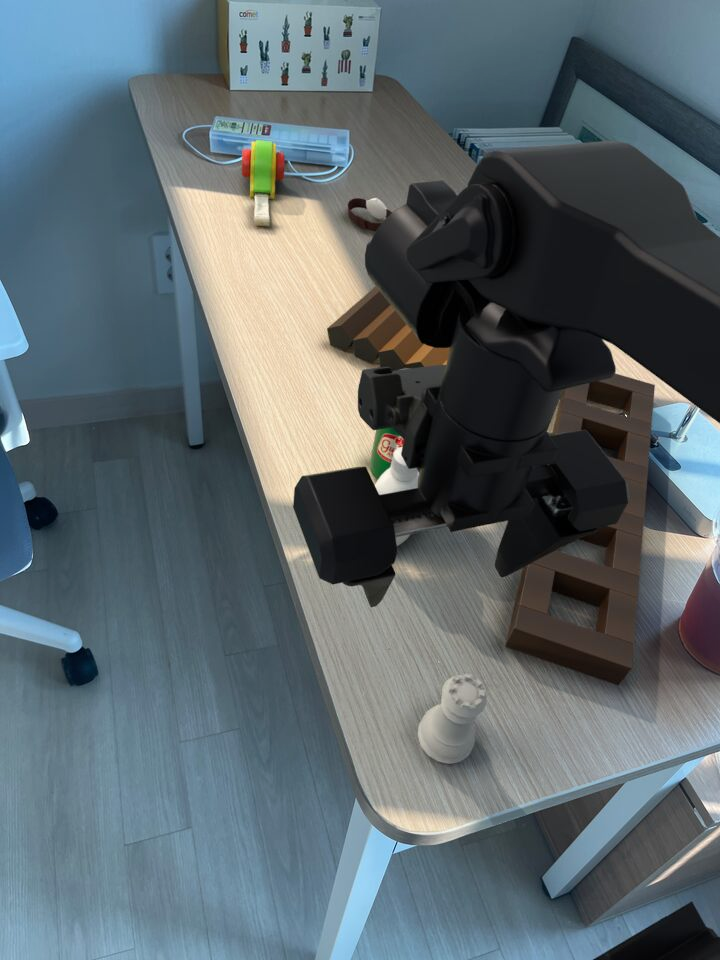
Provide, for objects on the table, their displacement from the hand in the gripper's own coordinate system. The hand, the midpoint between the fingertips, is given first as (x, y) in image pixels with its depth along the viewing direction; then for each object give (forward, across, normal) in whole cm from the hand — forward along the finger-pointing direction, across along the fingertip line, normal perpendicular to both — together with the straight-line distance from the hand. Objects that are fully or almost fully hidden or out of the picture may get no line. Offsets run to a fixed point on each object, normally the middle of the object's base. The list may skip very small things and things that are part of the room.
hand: (437, 585), depth 49 cm
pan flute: (+16, -26, -45) cm, 55 cm away
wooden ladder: (+16, -27, -15) cm, 35 cm away
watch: (+16, -24, -74) cm, 79 cm away
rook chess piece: (+17, -2, +4) cm, 17 cm away
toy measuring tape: (+16, -10, -83) cm, 85 cm away
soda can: (+16, -9, -24) cm, 31 cm away
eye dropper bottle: (+16, -6, -17) cm, 24 cm away
